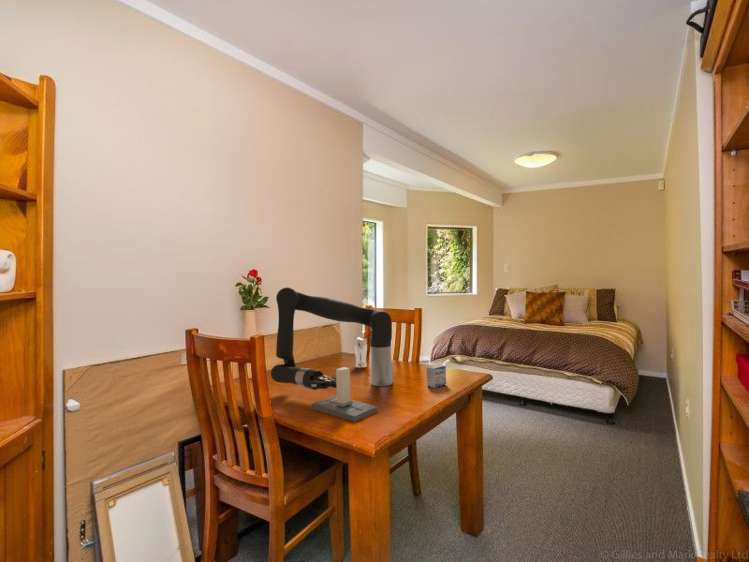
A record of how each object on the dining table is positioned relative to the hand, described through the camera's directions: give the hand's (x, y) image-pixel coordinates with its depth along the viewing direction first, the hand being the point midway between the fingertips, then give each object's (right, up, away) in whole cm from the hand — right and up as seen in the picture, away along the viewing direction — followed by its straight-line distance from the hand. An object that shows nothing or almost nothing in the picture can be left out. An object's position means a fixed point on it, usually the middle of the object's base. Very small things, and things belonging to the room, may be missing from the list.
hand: (340, 385), depth 144 cm
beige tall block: (+1, -7, -1) cm, 7 cm away
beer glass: (+5, -8, +67) cm, 68 cm away
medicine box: (+40, -8, +27) cm, 49 cm away
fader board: (+1, -9, -1) cm, 9 cm away
